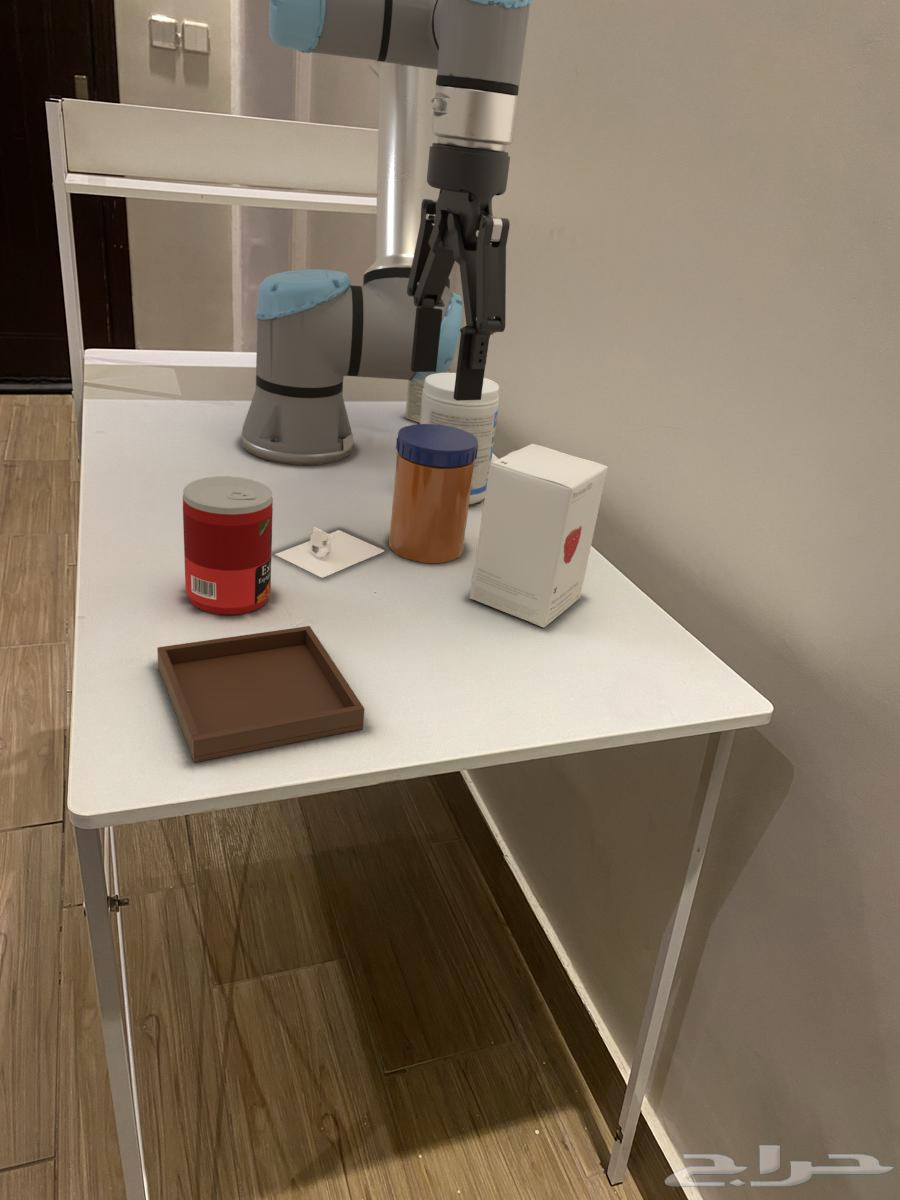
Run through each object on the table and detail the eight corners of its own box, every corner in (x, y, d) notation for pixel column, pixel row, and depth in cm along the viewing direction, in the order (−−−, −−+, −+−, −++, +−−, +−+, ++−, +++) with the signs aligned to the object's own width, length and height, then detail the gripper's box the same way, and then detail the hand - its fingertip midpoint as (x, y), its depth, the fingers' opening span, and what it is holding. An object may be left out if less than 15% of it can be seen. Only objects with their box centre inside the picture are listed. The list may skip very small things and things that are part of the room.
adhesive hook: (304, 553, 98) (305, 526, 96) (321, 546, 100) (322, 520, 98) (324, 563, 96) (325, 536, 95) (341, 556, 98) (343, 529, 97)
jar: (377, 534, 104) (386, 430, 98) (442, 528, 108) (454, 427, 102) (407, 567, 98) (418, 457, 92) (475, 559, 102) (490, 452, 96)
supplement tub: (500, 503, 117) (517, 391, 110) (439, 512, 112) (452, 395, 105) (459, 476, 124) (472, 369, 117) (399, 484, 119) (409, 372, 112)
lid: (383, 441, 99) (384, 425, 98) (454, 437, 103) (456, 422, 102) (416, 469, 92) (418, 452, 92) (490, 464, 96) (493, 448, 95)
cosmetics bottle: (446, 422, 145) (453, 359, 140) (427, 427, 142) (434, 362, 137) (422, 413, 148) (428, 351, 143) (403, 417, 145) (409, 354, 140)
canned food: (275, 614, 86) (277, 507, 81) (187, 618, 83) (184, 508, 78) (265, 577, 92) (267, 475, 87) (183, 579, 90) (180, 475, 85)
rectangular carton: (544, 630, 89) (572, 488, 82) (467, 599, 93) (486, 461, 86) (583, 598, 96) (611, 464, 89) (509, 571, 100) (530, 440, 93)
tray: (157, 667, 76) (157, 647, 75) (308, 644, 82) (309, 625, 81) (193, 762, 66) (193, 740, 65) (363, 729, 72) (364, 708, 71)
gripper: (386, 131, 90) (370, 356, 101) (493, 150, 73) (460, 419, 84) (453, 139, 94) (430, 356, 104) (570, 159, 77) (530, 416, 87)
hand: (444, 384), depth 94 cm, fingers open, 10 cm apart
